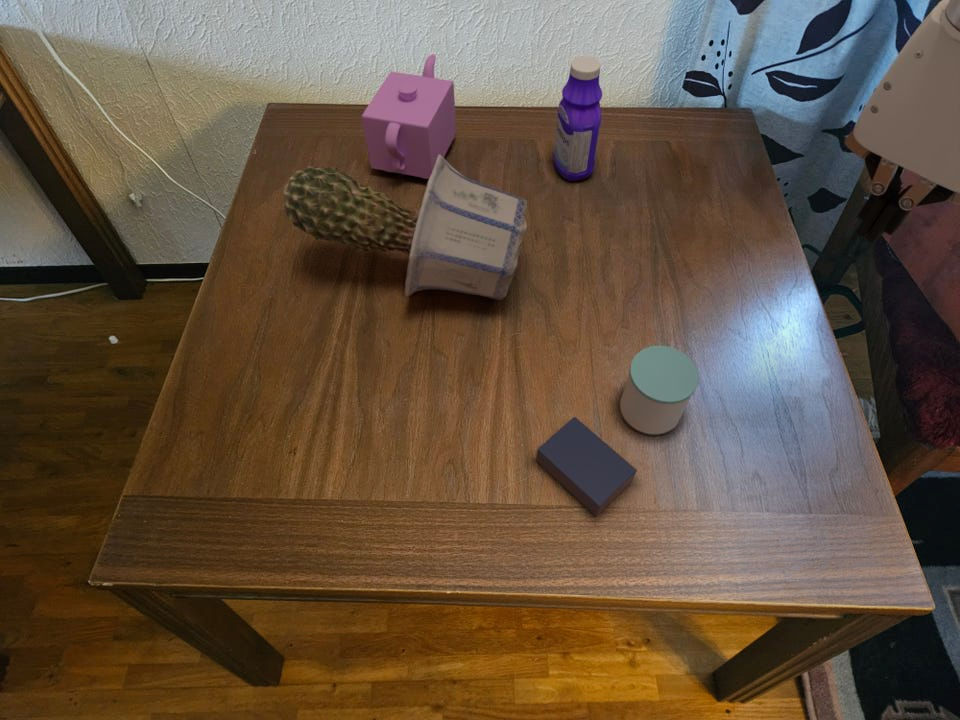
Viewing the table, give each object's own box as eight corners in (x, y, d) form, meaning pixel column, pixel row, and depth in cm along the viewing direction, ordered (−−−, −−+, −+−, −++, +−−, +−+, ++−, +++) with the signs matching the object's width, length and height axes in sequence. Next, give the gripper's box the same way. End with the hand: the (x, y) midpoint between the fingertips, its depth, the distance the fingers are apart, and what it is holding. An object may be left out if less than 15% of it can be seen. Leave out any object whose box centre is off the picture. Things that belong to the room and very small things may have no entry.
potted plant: (544, 153, 80) (305, 87, 76) (531, 262, 70) (258, 192, 67) (508, 244, 94) (307, 191, 91) (494, 343, 85) (268, 290, 81)
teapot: (428, 198, 97) (420, 126, 86) (366, 186, 98) (352, 114, 88) (466, 121, 108) (464, 49, 97) (410, 112, 109) (402, 40, 99)
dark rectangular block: (632, 481, 70) (637, 470, 67) (595, 517, 68) (599, 506, 65) (571, 428, 74) (574, 415, 71) (535, 460, 71) (536, 448, 69)
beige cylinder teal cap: (612, 411, 78) (666, 348, 77) (658, 451, 75) (716, 386, 74) (593, 397, 69) (654, 326, 68) (645, 442, 66) (710, 367, 65)
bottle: (547, 158, 102) (556, 53, 87) (580, 151, 103) (594, 46, 88) (564, 187, 98) (576, 82, 83) (598, 179, 99) (616, 74, 84)
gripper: (1182, 31, 37) (981, 255, 52) (929, -52, 43) (815, 169, 58) (1138, 83, 34) (938, 304, 49) (873, -15, 40) (769, 208, 55)
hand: (871, 230), depth 53 cm, fingers closed
